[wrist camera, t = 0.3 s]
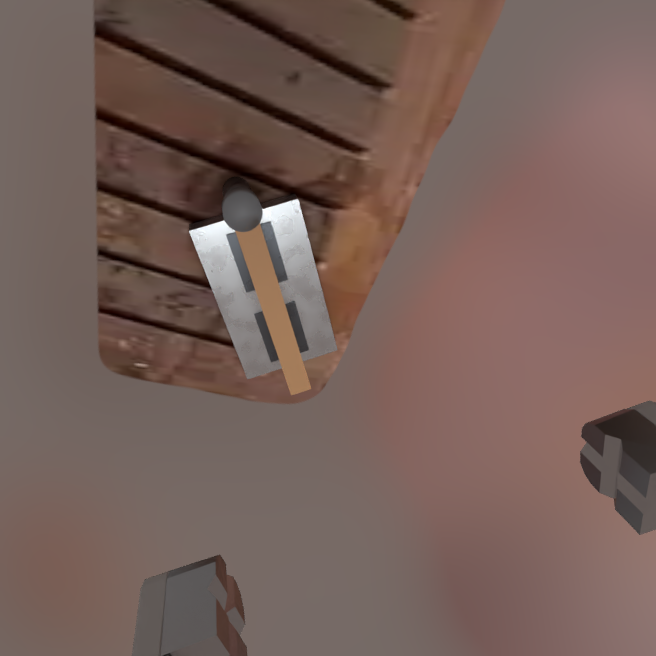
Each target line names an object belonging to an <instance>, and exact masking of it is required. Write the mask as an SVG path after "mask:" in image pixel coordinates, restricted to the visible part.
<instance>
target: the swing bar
mask: <svg viewBox="0 0 656 656" xmlns="http://www.w3.org/2000/svg"><path fill="white" fill-rule="evenodd" d="M222 212H223V217H224V220H225V222H226V223H227V225H228V226H229V227H230V228H232V229H233V230H235V232H236V235H237V238H238V241H239V244H240V247H241V250H242V253H243V256H244V258H245V261H246V264H247V267H248V270H249V273H250V276H251V279H252V282H253V285H254V288H255V291H256V294H257V296H258V299H259V302H260V305H261V308H262V311H263V314H264V317H265V320H266V323H267V326H268V329H269V332H270V334H271V337H272V340H273V343H274V346H275V349H276V352H277V355H278V358H279V361H280V364H281V367H282V370H283V372H284V375H285V378H286V381H287V384H288V387H289V390H290V393H291V395H294V394H297V393H300V392H303V391H306V390H309V389H311V386H310V383H309V380H308V377H307V373H306V370H305V367H304V364H303V360H302V357H301V354H300V351H299V348H298V344H297V341H296V338H295V335H294V332H293V328H292V325H291V322H290V319H289V315H288V312H287V309H286V306H285V303H284V299H283V296H282V293H281V290H280V286H279V283H278V280H277V277H276V274H275V270H274V267H273V264H272V261H271V258H270V254H269V251H268V248H267V245H266V241H265V238H264V235H263V232H262V229H261V225H260V222H261V219H262V215H263V212H262V207H261V204H260V202H259V199H258V197H257V196H256V194H255V193H254V192H252V191H251V190H249V189H247V188H243V187H237V188H234V189H231V190H230V191H228V192H227V193H226V195H225V196H224V198H223V201H222Z"/></svg>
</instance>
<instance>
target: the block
mask: <svg viewBox="0 0 656 656" xmlns="http://www.w3.org/2000/svg"><path fill="white" fill-rule="evenodd" d="M237 187H243V188H247V189H249V190H251V188H250V186H249V184H248V182H247V181H246V180H244V179H243V178H240V177H232V178H229V179H228V180H227V181H226V182H225V183H224V185H223V197H224V196H225V195H226V193H227V192H228V191H230V190H231V189H234V188H237ZM261 207H262V212H263V215H262V219H261V222H260V225H261V229H262V232H263V235H264V238H265V241H266V245H267V248H268V251H269V254H270V258H271V261H272V264H273V267H274V270H275V274H276V277H277V280H278V283H279V286H280V290H281V293H282V296H283V299H284V303H285V306H286V309H287V312H288V315H289V319H290V322H291V325H292V328H293V332H294V335H295V338H296V341H297V344H298V348H299V351H300V354H301V357H302V360H303V361H305V360H308V359H311V358H314V357H318V356H321V355H324V354H327V353H330V352H333V351H336V350H337V346H336V342H335V338H334V335H333V331H332V327H331V323H330V319H329V315H328V311H327V308H326V304H325V300H324V296H323V292H322V288H321V284H320V281H319V277H318V273H317V269H316V265H315V261H314V258H313V254H312V250H311V246H310V242H309V238H308V234H307V231H306V227H305V223H304V219H303V215H302V211H301V207H300V204H299V200H298V198H297V196H296V195H295V194H292V195H288V196H285V197H281V198H278V199H275V200H271V201H268V202H264V203H261ZM189 232H190V235H191V237H192V240H193V243H194V245H195V248H196V250H197V253H198V255H199V258H200V260H201V263H202V265H203V268H204V270H205V273H206V275H207V278H208V280H209V283H210V286H211V288H212V291H213V293H214V296H215V298H216V301H217V303H218V306H219V308H220V311H221V313H222V316H223V318H224V321H225V323H226V326H227V329H228V331H229V334H230V336H231V339H232V341H233V344H234V346H235V349H236V351H237V354H238V356H239V359H240V361H241V364H242V366H243V369H244V372H245V374H246V377H247V379H250V378H253V377H256V376H259V375H262V374H265V373H268V372H271V371H275V370H278V369H281V368H282V367H281V364H280V361H279V358H278V355H277V352H276V349H275V346H274V343H273V340H272V337H271V334H270V332H269V329H268V326H267V323H266V320H265V317H264V314H263V311H262V308H261V305H260V302H259V299H258V296H257V294H256V291H255V288H254V285H253V282H252V279H251V276H250V273H249V270H248V267H247V264H246V261H245V258H244V256H243V253H242V250H241V247H240V244H239V241H238V238H237V235H236V232H235V230H233V229H232V228H230V227H229V226H228V225H227V223H226V222H225V220H224V217H223V215H220V216H216V217H213V218H210V219H206V220H203V221H199V222H196V223H193V224H190V225H189Z"/></svg>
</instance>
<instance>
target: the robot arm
mask: <svg viewBox="0 0 656 656" xmlns="http://www.w3.org/2000/svg"><path fill="white" fill-rule="evenodd" d="M581 437H582V438H583V439H584V440H585V441H586V442H587V443H586V444H585V446H584V447H583V449H582V450H581V451H580V463H581V466H582V468H583V471H584V473H585V475H586V477H587V478H588V480H589V481H590V483H591V484H592V485H593V486H594V487H595V489H596V490H597V491H598V492H599V493H601V494H604V495H606V496H609V497H611V498H614V505H615V510H616V511H617V512H618V513H619V514H620V515H621V516H622V517H623V518H624V519H625V520H626V521H627V522H628V523H629V524H630V525H631V526H632V527H633V528H634V529H635V530H636V531H637V533H638V534H639V535H641V534H644V533H647V532H650V531H652V530H655V529H656V402H652V401H647V402H644V403H641V404H638V405H635V406H633V407H630V408H627V409H623V410H620V411H617V412H615V413H612V414H609V415H607V416H604V417H601V418H599V419H596V420H593V421H591V422H588V423H586V424H585V425H584V426H583V428H582V435H581ZM244 625H245V617H244V607H243V603H242V598H241V594H240V590H239V588H238V585H237V583H236V581H235V579H234V577H233V576H230V575H227V573H226V563H225V561H224V560H223V558H222V557H221V555H217V556H214V557H211V558H208V559H205V560H201V561H199V562H195V563H192V564H189V565H186V566H183V567H180V568H177V569H174V570H171V571H168V572H165V573H162V574H159V575H156V576H153V577H151V578H148V579H145V580H144V583H143V585H142V587H141V590H140V598H139V606H138V613H137V621H136V628H135V636H134V644H133V651H132V656H247V647H246V645H245V643H244V642H243V640H242V638H241V637H240V634H241V632H242V630H243V628H244Z"/></svg>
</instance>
